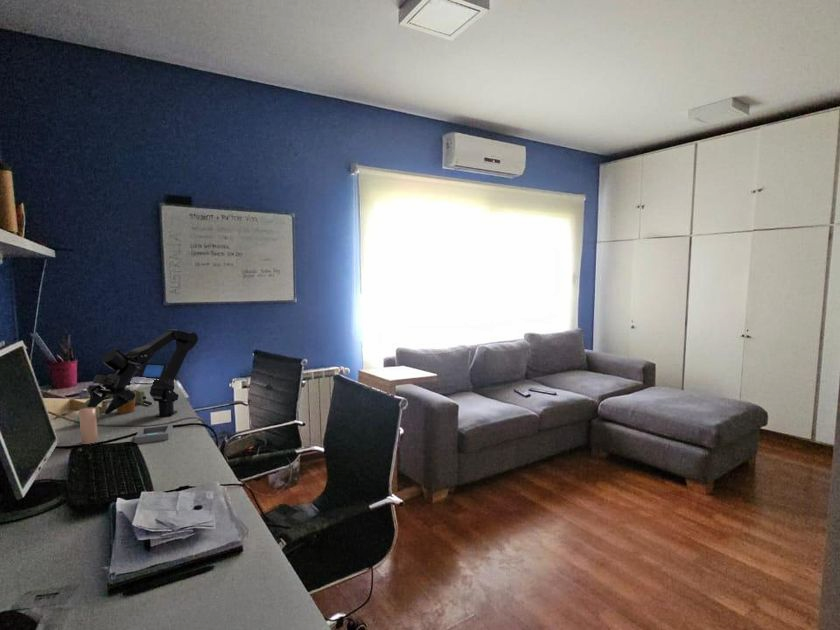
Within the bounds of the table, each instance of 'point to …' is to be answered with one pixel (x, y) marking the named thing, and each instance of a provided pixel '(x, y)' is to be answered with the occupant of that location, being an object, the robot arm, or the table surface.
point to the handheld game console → (153, 370)
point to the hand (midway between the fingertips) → (96, 412)
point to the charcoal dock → (154, 433)
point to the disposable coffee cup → (131, 405)
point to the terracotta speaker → (88, 425)
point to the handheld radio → (141, 397)
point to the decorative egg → (95, 407)
